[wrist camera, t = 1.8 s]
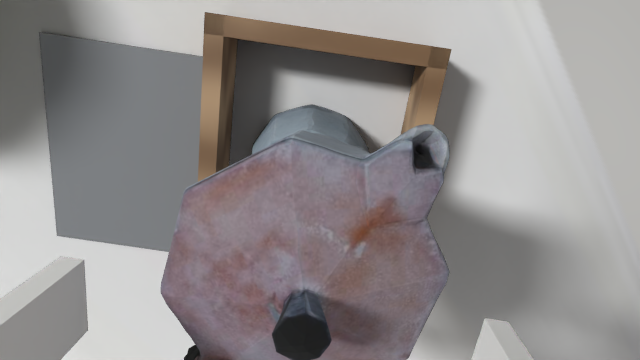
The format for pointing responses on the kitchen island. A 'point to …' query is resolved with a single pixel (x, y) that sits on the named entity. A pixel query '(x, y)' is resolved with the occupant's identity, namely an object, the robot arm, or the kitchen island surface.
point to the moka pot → (311, 245)
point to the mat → (120, 138)
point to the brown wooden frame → (229, 29)
